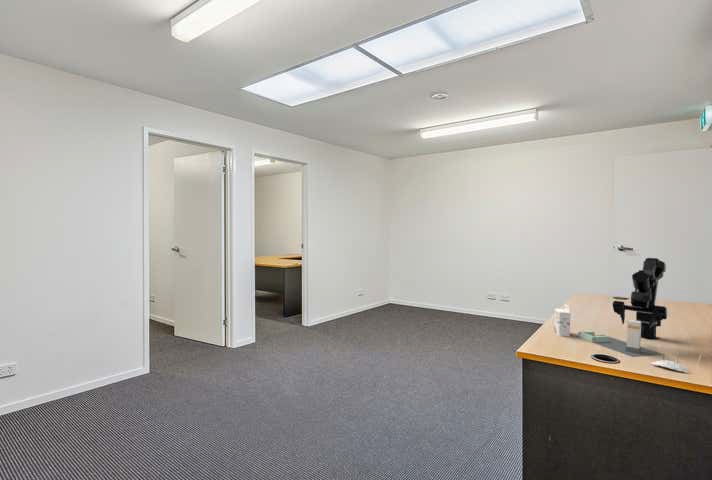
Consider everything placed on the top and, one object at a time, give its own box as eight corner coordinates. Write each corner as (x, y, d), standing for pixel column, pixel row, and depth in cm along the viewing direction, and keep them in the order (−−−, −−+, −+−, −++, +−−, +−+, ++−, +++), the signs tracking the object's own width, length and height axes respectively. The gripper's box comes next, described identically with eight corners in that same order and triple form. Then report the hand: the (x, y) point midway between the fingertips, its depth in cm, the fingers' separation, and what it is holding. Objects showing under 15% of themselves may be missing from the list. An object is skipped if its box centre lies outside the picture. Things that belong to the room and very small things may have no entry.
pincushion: (647, 366, 146) (647, 351, 146) (653, 363, 150) (653, 349, 150) (688, 377, 137) (688, 360, 136) (693, 373, 140) (694, 357, 140)
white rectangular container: (627, 348, 166) (629, 319, 166) (641, 351, 163) (642, 321, 163) (625, 351, 163) (626, 321, 163) (639, 353, 160) (640, 323, 160)
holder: (594, 336, 186) (594, 331, 185) (610, 341, 177) (610, 336, 177) (578, 337, 184) (578, 331, 184) (593, 342, 175) (594, 337, 175)
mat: (603, 335, 189) (603, 334, 188) (665, 355, 159) (665, 354, 159) (574, 337, 185) (574, 336, 185) (632, 357, 156) (632, 356, 156)
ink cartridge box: (553, 332, 194) (554, 302, 193) (564, 332, 193) (565, 302, 192) (558, 336, 186) (559, 305, 185) (570, 337, 185) (571, 306, 184)
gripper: (614, 282, 175) (607, 310, 167) (667, 287, 162) (662, 317, 154) (617, 298, 181) (610, 325, 173) (669, 304, 168) (664, 334, 160)
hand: (635, 325), depth 165 cm, fingers open, 9 cm apart
